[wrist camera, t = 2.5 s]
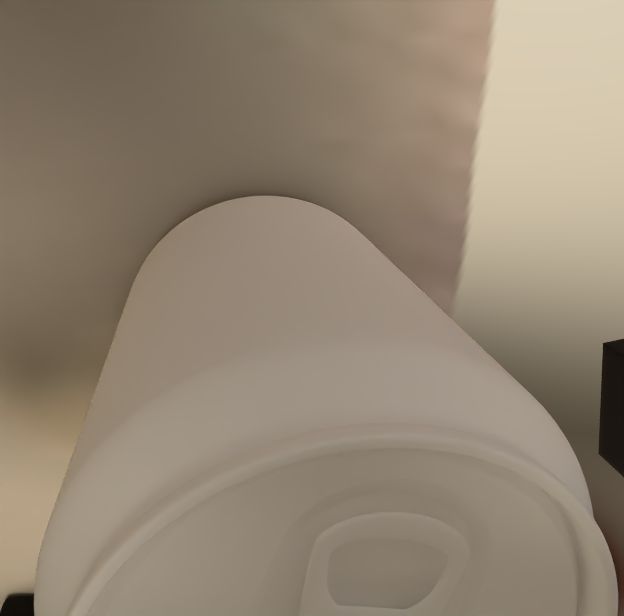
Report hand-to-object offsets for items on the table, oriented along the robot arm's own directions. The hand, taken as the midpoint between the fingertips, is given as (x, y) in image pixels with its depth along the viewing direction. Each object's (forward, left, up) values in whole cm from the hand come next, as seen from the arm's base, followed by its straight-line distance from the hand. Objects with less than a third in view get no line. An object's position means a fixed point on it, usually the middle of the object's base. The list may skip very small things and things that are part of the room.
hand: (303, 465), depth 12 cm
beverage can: (0, 0, -7) cm, 7 cm away
